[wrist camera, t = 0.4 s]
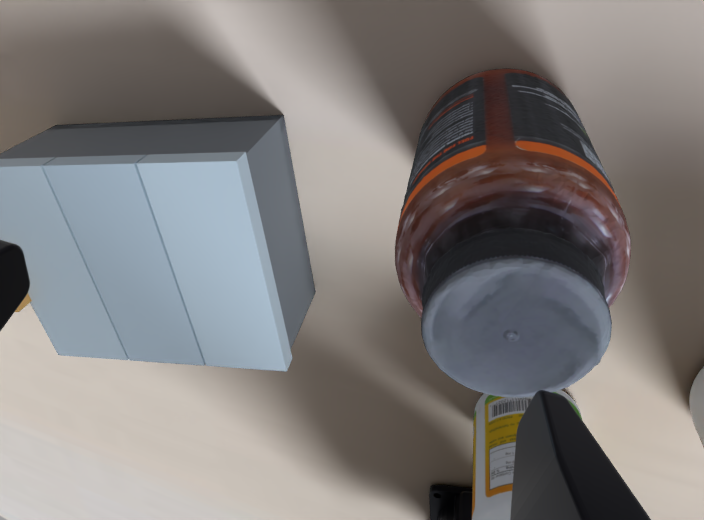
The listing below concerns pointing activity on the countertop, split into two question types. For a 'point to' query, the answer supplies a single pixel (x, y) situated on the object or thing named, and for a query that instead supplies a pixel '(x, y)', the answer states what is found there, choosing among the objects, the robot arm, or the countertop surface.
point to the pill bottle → (698, 404)
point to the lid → (147, 258)
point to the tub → (212, 137)
